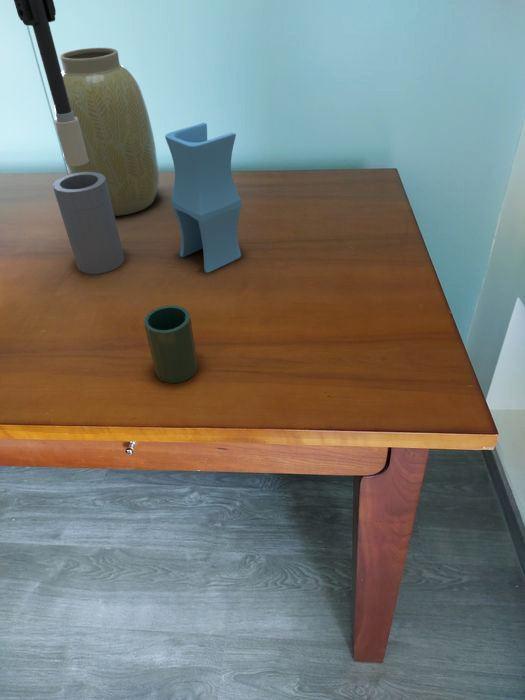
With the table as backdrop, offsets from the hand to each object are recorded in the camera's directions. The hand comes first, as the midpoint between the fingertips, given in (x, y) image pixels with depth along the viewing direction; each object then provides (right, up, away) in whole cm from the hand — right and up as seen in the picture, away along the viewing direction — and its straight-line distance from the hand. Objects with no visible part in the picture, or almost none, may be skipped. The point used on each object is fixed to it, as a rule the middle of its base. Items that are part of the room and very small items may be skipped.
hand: (39, 22), depth 66 cm
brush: (+1, -13, +11) cm, 18 cm away
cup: (0, -26, +24) cm, 35 cm away
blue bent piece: (+19, -25, +24) cm, 39 cm away
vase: (-1, -11, +42) cm, 43 cm away
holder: (+17, -43, +2) cm, 46 cm away
